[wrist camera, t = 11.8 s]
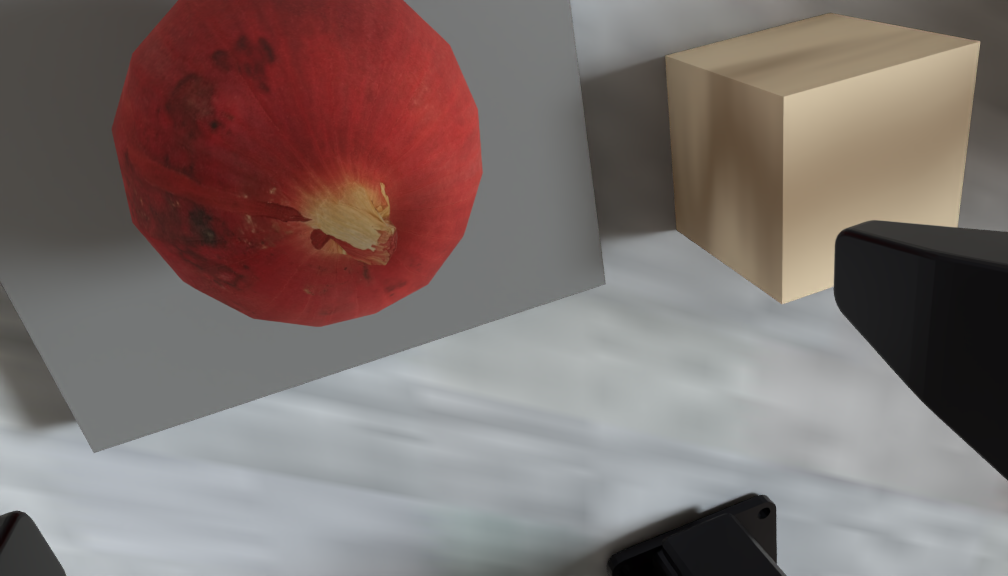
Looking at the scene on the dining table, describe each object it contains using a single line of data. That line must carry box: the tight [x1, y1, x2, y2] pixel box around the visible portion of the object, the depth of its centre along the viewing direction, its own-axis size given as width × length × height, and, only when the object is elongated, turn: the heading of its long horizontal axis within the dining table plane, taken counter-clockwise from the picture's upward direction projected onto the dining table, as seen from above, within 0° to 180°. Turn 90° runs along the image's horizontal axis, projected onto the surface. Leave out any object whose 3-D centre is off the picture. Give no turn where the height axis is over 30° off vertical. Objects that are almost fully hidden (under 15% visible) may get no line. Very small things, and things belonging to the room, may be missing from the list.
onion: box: [111, 0, 483, 327], centre depth 13 cm, size 6×6×8 cm
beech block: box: [665, 13, 980, 304], centre depth 20 cm, size 5×5×5 cm
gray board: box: [0, 0, 606, 453], centre depth 17 cm, size 13×13×2 cm
